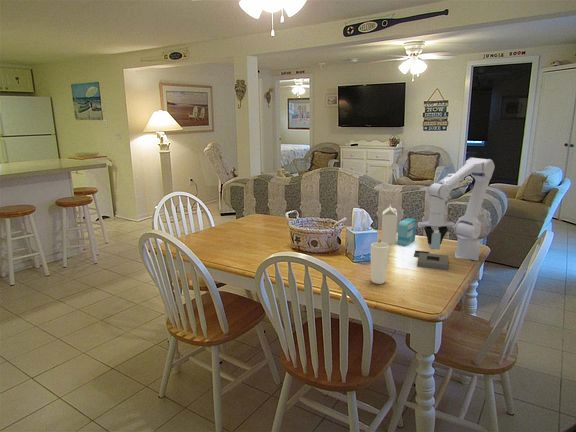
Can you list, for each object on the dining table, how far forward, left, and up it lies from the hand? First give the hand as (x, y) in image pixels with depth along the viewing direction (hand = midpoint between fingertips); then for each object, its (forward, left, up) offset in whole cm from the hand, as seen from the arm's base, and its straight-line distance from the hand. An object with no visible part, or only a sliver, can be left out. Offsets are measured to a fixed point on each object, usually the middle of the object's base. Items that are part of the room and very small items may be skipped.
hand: (434, 243), depth 172 cm
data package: (+13, -26, -10) cm, 31 cm away
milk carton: (+22, -24, -10) cm, 34 cm away
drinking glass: (+19, +26, -10) cm, 34 cm away
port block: (0, 0, -9) cm, 9 cm away
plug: (0, 0, -2) cm, 2 cm away
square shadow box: (+5, -9, -9) cm, 14 cm away
